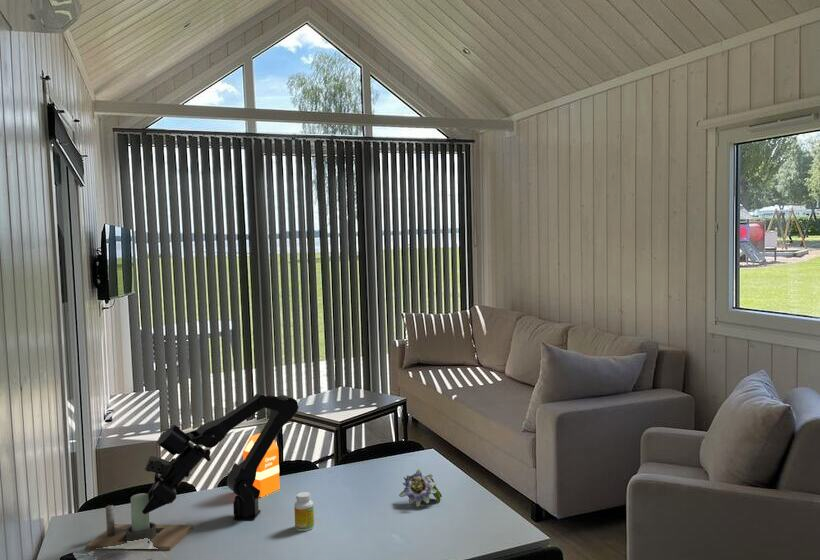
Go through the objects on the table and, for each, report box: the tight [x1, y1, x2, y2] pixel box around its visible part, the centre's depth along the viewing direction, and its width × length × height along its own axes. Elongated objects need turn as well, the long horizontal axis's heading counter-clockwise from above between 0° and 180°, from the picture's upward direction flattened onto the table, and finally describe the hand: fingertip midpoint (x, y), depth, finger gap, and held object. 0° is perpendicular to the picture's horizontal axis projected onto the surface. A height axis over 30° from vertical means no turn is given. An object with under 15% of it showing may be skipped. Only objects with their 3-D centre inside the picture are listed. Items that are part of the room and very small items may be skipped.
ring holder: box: [85, 504, 194, 551], centre depth 178 cm, size 24×14×9 cm, turn 85°
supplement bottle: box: [293, 491, 315, 532], centre depth 182 cm, size 5×5×10 cm
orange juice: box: [242, 432, 281, 498], centre depth 212 cm, size 8×9×20 cm
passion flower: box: [399, 469, 443, 508], centre depth 199 cm, size 11×11×12 cm
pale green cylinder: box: [130, 492, 151, 533], centre depth 178 cm, size 5×5×12 cm
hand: (144, 507), depth 178 cm, fingers open, 9 cm apart
